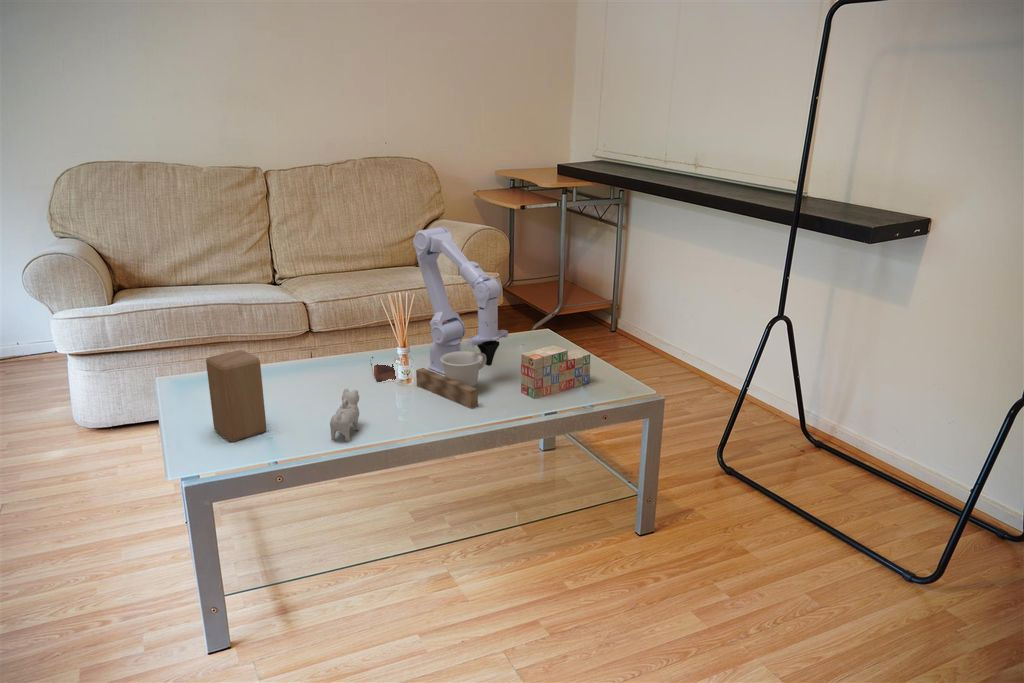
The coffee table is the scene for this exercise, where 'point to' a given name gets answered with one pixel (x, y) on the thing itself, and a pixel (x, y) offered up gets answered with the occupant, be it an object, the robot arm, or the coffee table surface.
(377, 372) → the wooden tablet
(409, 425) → the coffee table surface
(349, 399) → the grey animal figure
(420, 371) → the walnut board
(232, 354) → the wooden block
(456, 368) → the teacup
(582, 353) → the stack of blocks
